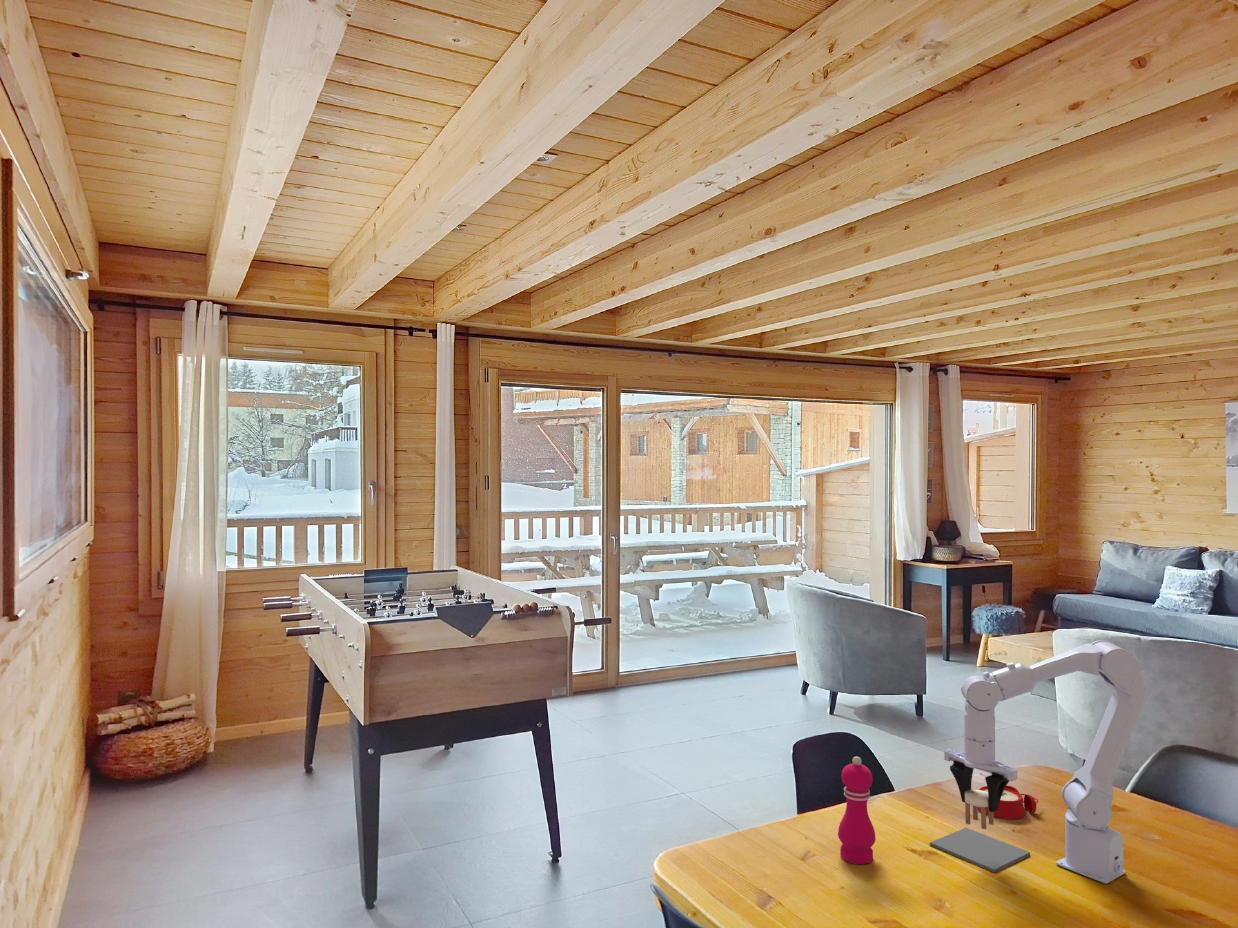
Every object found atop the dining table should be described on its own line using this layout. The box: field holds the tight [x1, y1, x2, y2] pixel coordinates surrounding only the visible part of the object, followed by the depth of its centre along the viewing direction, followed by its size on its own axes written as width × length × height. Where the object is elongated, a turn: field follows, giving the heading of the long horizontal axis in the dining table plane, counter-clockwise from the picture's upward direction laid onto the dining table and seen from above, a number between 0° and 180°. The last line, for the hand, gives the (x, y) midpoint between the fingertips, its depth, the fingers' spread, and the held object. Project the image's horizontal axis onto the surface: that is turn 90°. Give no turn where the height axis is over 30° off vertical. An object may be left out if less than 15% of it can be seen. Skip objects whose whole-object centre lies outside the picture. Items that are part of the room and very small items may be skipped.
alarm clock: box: [978, 785, 1039, 820], centre depth 187 cm, size 10×6×15 cm
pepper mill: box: [837, 756, 876, 865], centre depth 163 cm, size 7×7×20 cm
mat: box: [929, 827, 1031, 873], centre depth 166 cm, size 14×13×1 cm
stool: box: [964, 789, 995, 830], centre depth 163 cm, size 5×5×6 cm
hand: (979, 805), depth 163 cm, fingers closed on stool, 5 cm apart
